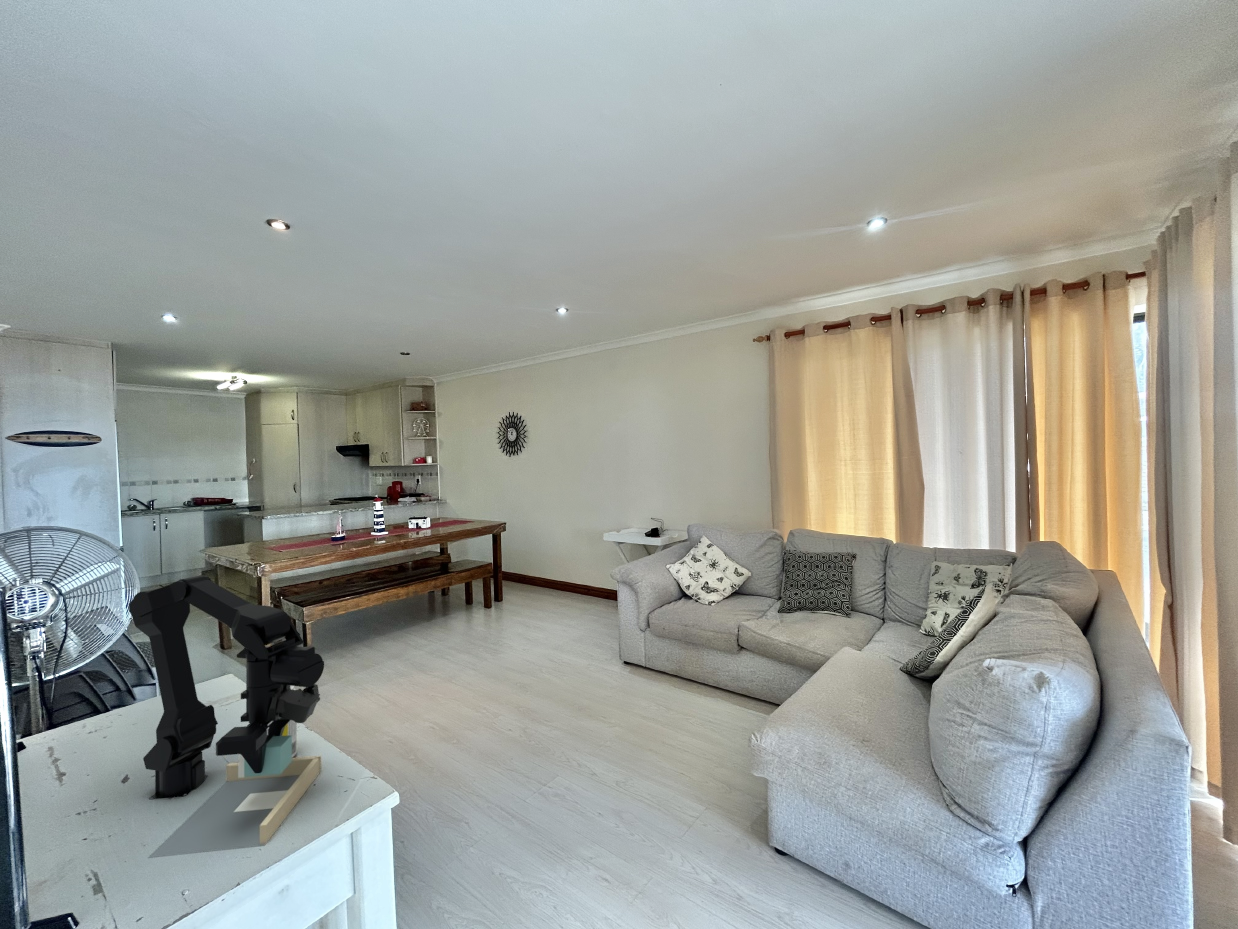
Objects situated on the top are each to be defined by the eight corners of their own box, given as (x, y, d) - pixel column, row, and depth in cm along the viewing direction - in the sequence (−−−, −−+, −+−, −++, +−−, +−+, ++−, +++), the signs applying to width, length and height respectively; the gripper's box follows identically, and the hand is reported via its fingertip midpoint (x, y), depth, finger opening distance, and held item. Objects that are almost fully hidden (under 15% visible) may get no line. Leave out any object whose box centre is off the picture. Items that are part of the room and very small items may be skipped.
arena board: (147, 861, 79) (147, 838, 79) (229, 781, 99) (229, 763, 99) (264, 849, 81) (264, 827, 81) (321, 773, 101) (321, 755, 101)
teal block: (280, 774, 91) (280, 746, 91) (238, 777, 90) (238, 749, 90) (291, 761, 95) (291, 735, 95) (251, 764, 94) (251, 737, 94)
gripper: (286, 701, 84) (286, 794, 84) (333, 659, 103) (333, 735, 103) (213, 706, 83) (213, 800, 83) (274, 662, 101) (274, 739, 101)
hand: (265, 765), depth 92 cm, fingers closed on teal block, 4 cm apart
